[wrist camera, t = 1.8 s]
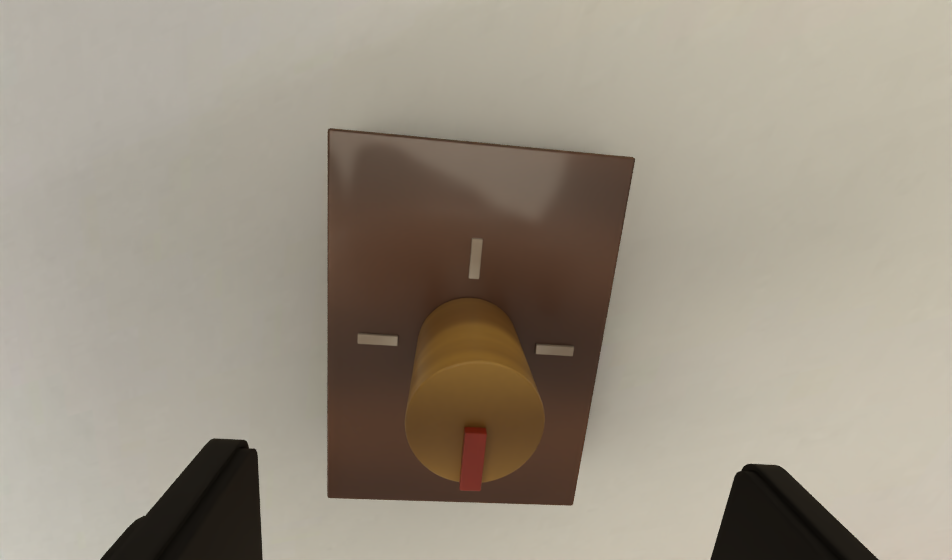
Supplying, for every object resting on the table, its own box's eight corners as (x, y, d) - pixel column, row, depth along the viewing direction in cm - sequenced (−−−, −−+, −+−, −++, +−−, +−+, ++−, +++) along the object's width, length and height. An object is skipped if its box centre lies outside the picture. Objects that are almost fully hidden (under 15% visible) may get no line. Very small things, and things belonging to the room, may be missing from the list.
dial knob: (420, 293, 16) (406, 362, 11) (522, 300, 16) (557, 371, 11) (415, 386, 17) (399, 490, 12) (511, 391, 17) (538, 494, 12)
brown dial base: (347, 131, 17) (325, 127, 14) (605, 156, 18) (638, 157, 15) (343, 450, 21) (325, 501, 18) (556, 458, 21) (574, 509, 18)
